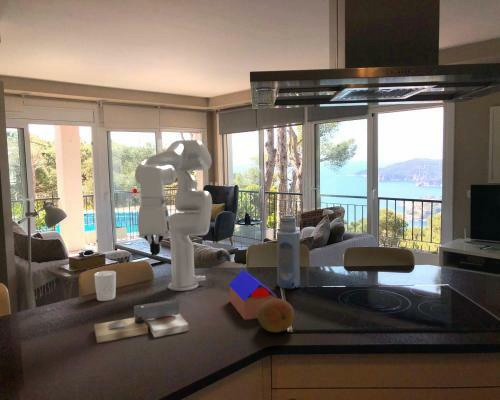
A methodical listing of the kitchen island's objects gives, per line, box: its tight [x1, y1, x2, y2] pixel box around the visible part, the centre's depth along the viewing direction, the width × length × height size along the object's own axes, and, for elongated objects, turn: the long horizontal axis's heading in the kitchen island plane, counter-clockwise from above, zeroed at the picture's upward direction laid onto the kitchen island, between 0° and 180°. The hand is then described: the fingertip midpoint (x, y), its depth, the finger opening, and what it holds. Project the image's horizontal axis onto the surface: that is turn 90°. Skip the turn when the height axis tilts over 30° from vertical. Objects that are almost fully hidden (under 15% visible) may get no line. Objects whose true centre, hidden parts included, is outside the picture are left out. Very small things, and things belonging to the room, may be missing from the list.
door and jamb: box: [93, 313, 190, 344], centre depth 123 cm, size 26×18×2 cm
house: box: [228, 269, 278, 321], centre depth 139 cm, size 12×20×12 cm, turn 17°
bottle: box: [276, 214, 301, 289], centre depth 165 cm, size 10×10×30 cm
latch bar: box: [133, 299, 180, 323], centre depth 124 cm, size 14×3×5 cm, turn 113°
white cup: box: [94, 270, 117, 302], centre depth 153 cm, size 8×8×10 cm
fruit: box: [257, 297, 295, 333], centre depth 119 cm, size 12×12×10 cm
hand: (155, 254), depth 136 cm, fingers closed
